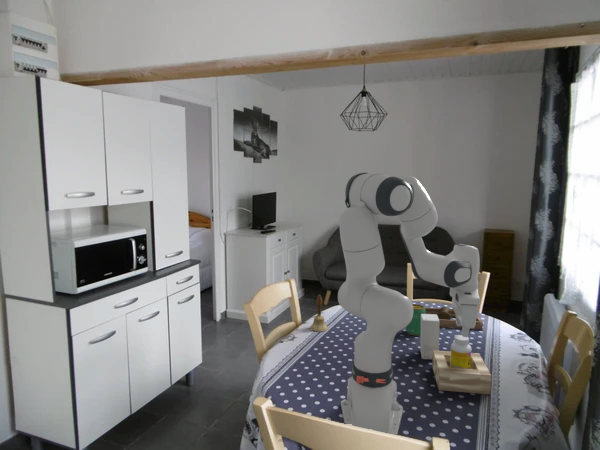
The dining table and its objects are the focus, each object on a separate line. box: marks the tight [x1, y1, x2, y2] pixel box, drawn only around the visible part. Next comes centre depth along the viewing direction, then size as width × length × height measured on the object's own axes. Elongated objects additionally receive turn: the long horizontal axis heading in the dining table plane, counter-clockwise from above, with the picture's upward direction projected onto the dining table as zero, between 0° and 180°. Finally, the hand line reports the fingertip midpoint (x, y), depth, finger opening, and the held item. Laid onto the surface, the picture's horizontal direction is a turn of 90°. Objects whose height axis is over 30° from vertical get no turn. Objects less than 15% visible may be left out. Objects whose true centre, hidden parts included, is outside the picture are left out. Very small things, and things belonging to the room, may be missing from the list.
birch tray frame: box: [431, 350, 492, 395], centre depth 144 cm, size 16×16×7 cm
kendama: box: [431, 306, 456, 320], centre depth 198 cm, size 6×10×20 cm
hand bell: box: [309, 294, 329, 333], centre depth 189 cm, size 8×8×16 cm
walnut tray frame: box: [424, 306, 484, 331], centre depth 198 cm, size 16×26×4 cm, turn 80°
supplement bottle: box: [450, 334, 472, 369], centre depth 143 cm, size 7×7×13 cm
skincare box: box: [419, 314, 440, 361], centre depth 162 cm, size 8×7×16 cm
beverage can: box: [405, 303, 426, 337], centre depth 184 cm, size 8×8×12 cm
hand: (461, 330), depth 142 cm, fingers open, 8 cm apart
